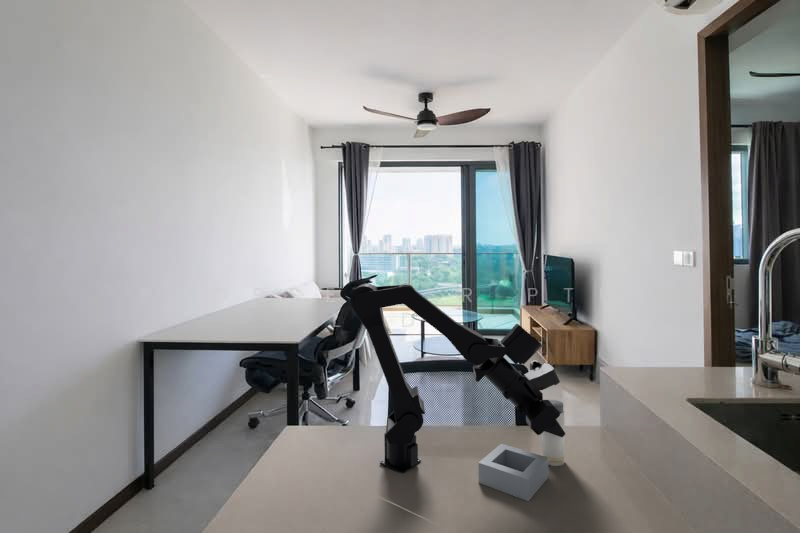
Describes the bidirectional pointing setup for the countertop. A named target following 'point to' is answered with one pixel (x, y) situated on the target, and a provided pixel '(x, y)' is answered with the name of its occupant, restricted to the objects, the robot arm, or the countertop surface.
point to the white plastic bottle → (554, 440)
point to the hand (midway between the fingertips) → (559, 430)
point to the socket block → (513, 471)
